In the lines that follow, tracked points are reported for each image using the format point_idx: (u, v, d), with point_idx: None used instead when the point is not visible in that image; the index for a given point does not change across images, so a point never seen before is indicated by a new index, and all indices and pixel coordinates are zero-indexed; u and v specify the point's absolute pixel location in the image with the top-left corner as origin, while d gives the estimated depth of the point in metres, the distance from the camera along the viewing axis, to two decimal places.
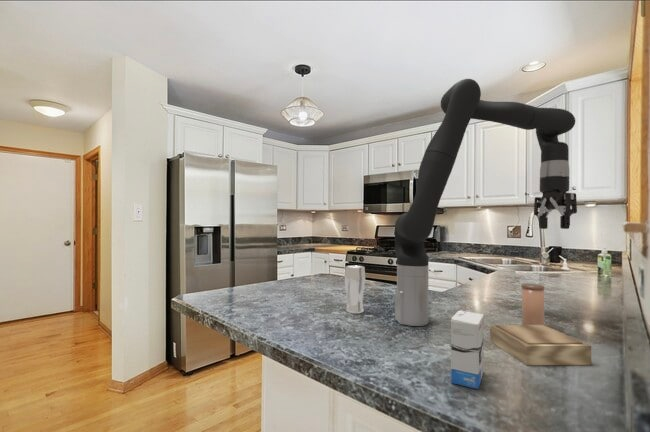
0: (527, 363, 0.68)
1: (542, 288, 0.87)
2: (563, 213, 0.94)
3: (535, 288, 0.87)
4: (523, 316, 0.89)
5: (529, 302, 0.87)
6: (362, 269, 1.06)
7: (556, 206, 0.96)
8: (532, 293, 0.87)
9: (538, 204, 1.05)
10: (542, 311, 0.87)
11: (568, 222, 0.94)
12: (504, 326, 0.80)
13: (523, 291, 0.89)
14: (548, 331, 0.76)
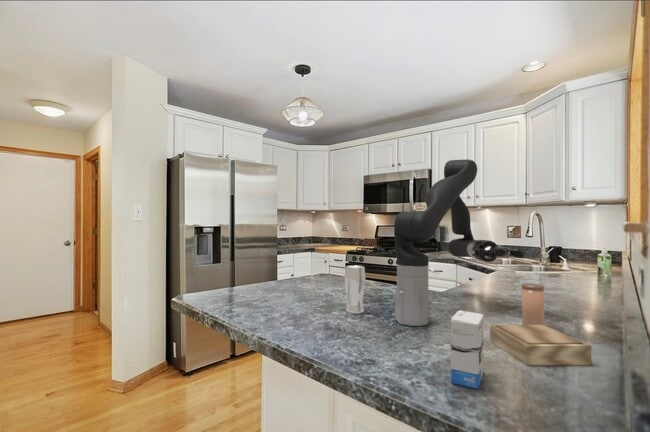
0: (527, 363, 0.68)
1: (542, 288, 0.87)
2: None
3: (535, 288, 0.87)
4: (523, 316, 0.89)
5: (529, 302, 0.87)
6: (362, 269, 1.06)
7: None
8: (532, 293, 0.87)
9: None
10: (542, 311, 0.87)
11: None
12: (504, 326, 0.80)
13: (523, 291, 0.89)
14: (548, 331, 0.76)
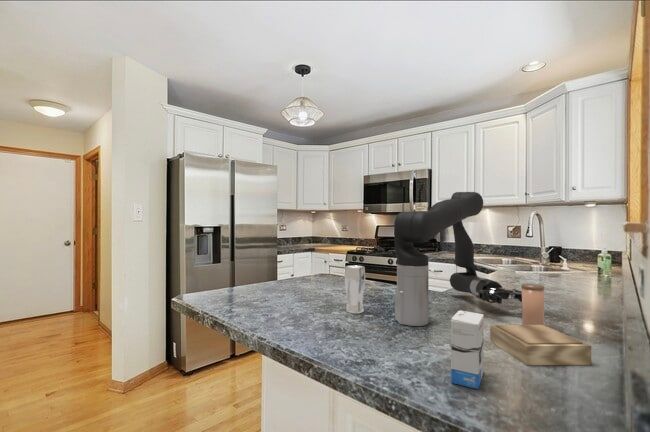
0: (527, 363, 0.68)
1: (542, 288, 0.87)
2: None
3: (535, 288, 0.87)
4: (523, 316, 0.89)
5: (529, 302, 0.87)
6: (362, 269, 1.06)
7: (510, 290, 1.04)
8: (532, 293, 0.87)
9: None
10: (542, 311, 0.87)
11: None
12: (504, 326, 0.80)
13: (523, 291, 0.89)
14: (548, 331, 0.76)
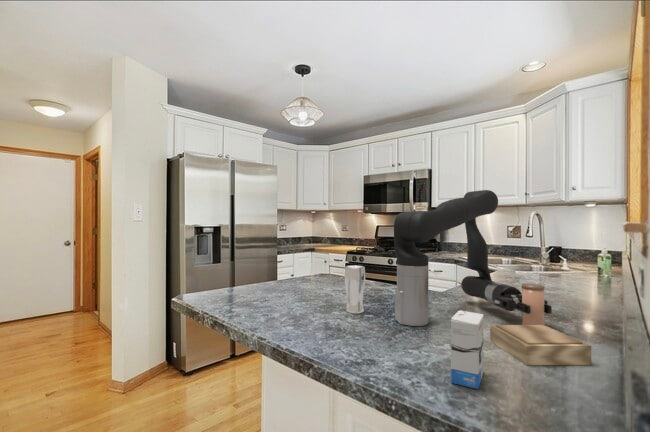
0: (527, 363, 0.68)
1: (542, 288, 0.87)
2: None
3: (535, 288, 0.87)
4: (523, 316, 0.89)
5: (529, 302, 0.87)
6: (362, 269, 1.06)
7: None
8: (532, 293, 0.87)
9: None
10: (542, 311, 0.87)
11: None
12: (504, 326, 0.80)
13: (523, 291, 0.89)
14: (548, 331, 0.76)
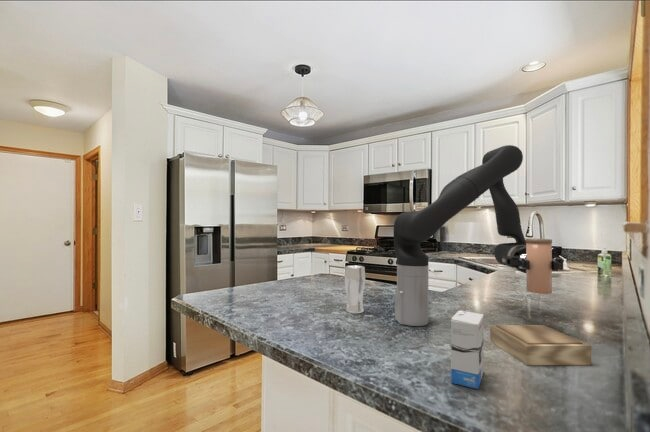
0: (527, 363, 0.68)
1: (546, 241, 0.76)
2: (554, 259, 0.79)
3: (536, 241, 0.77)
4: (526, 274, 0.80)
5: (530, 257, 0.78)
6: (362, 269, 1.06)
7: None
8: (533, 247, 0.77)
9: None
10: (546, 267, 0.76)
11: None
12: (504, 326, 0.80)
13: (526, 246, 0.80)
14: (548, 331, 0.76)
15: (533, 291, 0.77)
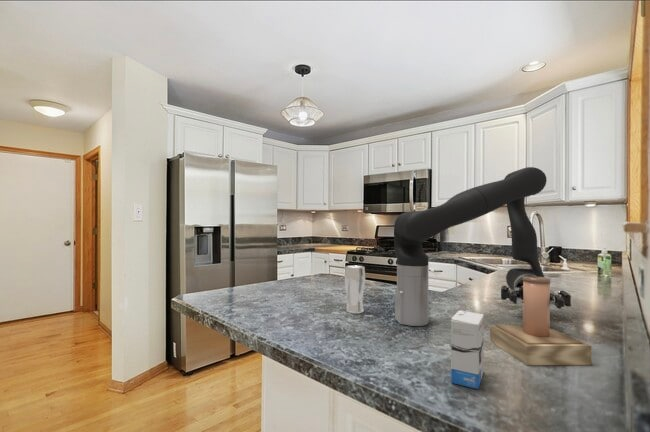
0: (527, 363, 0.68)
1: (542, 281, 0.72)
2: (560, 295, 0.75)
3: (532, 280, 0.73)
4: (523, 313, 0.76)
5: (526, 297, 0.75)
6: (362, 269, 1.06)
7: None
8: (529, 286, 0.74)
9: (506, 289, 0.83)
10: (542, 309, 0.72)
11: None
12: (504, 326, 0.80)
13: (523, 284, 0.76)
14: None
15: (528, 332, 0.74)
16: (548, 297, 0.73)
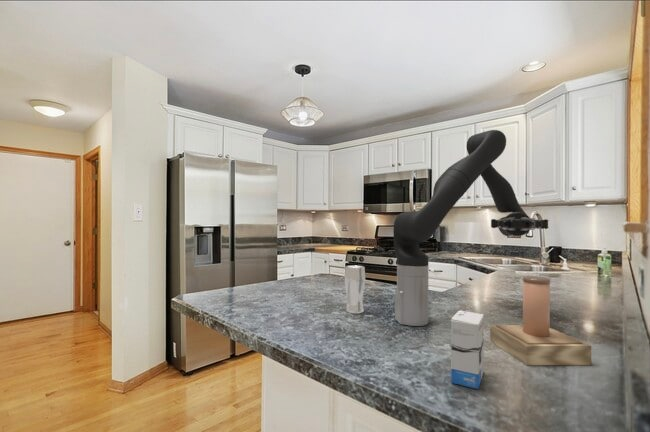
0: (527, 363, 0.68)
1: (542, 282, 0.72)
2: (539, 220, 0.90)
3: (532, 281, 0.73)
4: (523, 313, 0.76)
5: (526, 297, 0.74)
6: (362, 269, 1.06)
7: (530, 218, 0.93)
8: (529, 287, 0.74)
9: (496, 221, 0.99)
10: (542, 309, 0.72)
11: (541, 225, 0.88)
12: (504, 326, 0.80)
13: (523, 284, 0.76)
14: None
15: (528, 333, 0.74)
16: (548, 297, 0.73)
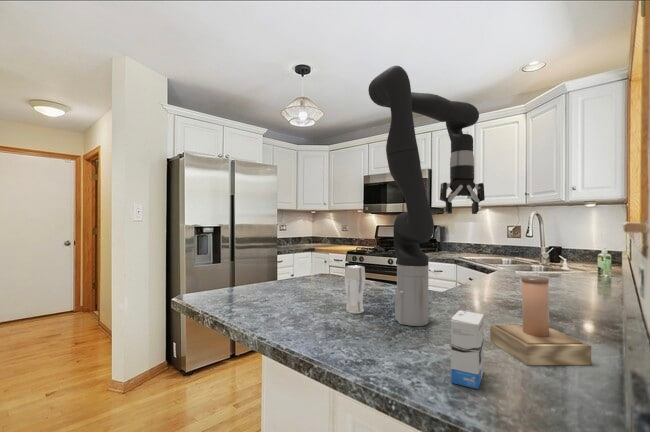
0: (527, 363, 0.68)
1: (541, 281, 0.72)
2: (478, 200, 1.07)
3: (531, 281, 0.73)
4: (522, 313, 0.76)
5: (525, 297, 0.75)
6: (362, 269, 1.06)
7: (473, 193, 1.07)
8: (528, 287, 0.74)
9: None
10: (542, 309, 0.72)
11: None
12: (504, 326, 0.80)
13: None
14: None
15: (528, 333, 0.74)
16: (547, 297, 0.73)
